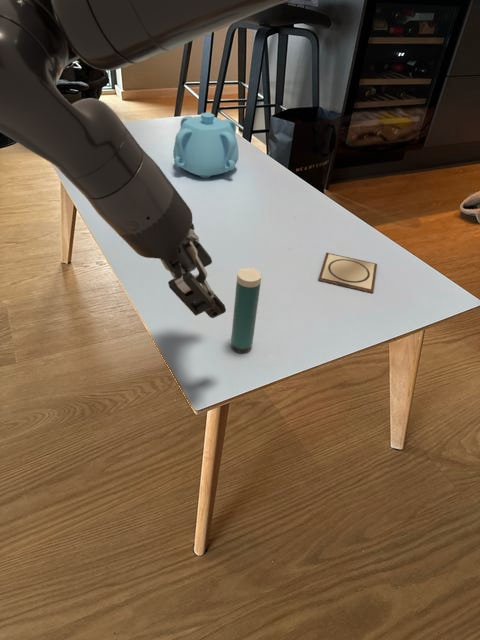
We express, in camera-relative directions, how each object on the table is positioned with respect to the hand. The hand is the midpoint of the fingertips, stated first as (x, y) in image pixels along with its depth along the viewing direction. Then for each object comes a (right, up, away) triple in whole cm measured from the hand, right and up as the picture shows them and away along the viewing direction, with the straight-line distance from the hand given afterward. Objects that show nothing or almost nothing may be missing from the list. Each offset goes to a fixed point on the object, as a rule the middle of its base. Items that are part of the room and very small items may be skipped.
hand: (211, 287), depth 60 cm
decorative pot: (-5, +35, +61) cm, 70 cm away
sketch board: (+24, +5, +28) cm, 37 cm away
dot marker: (+4, -8, +10) cm, 13 cm away
